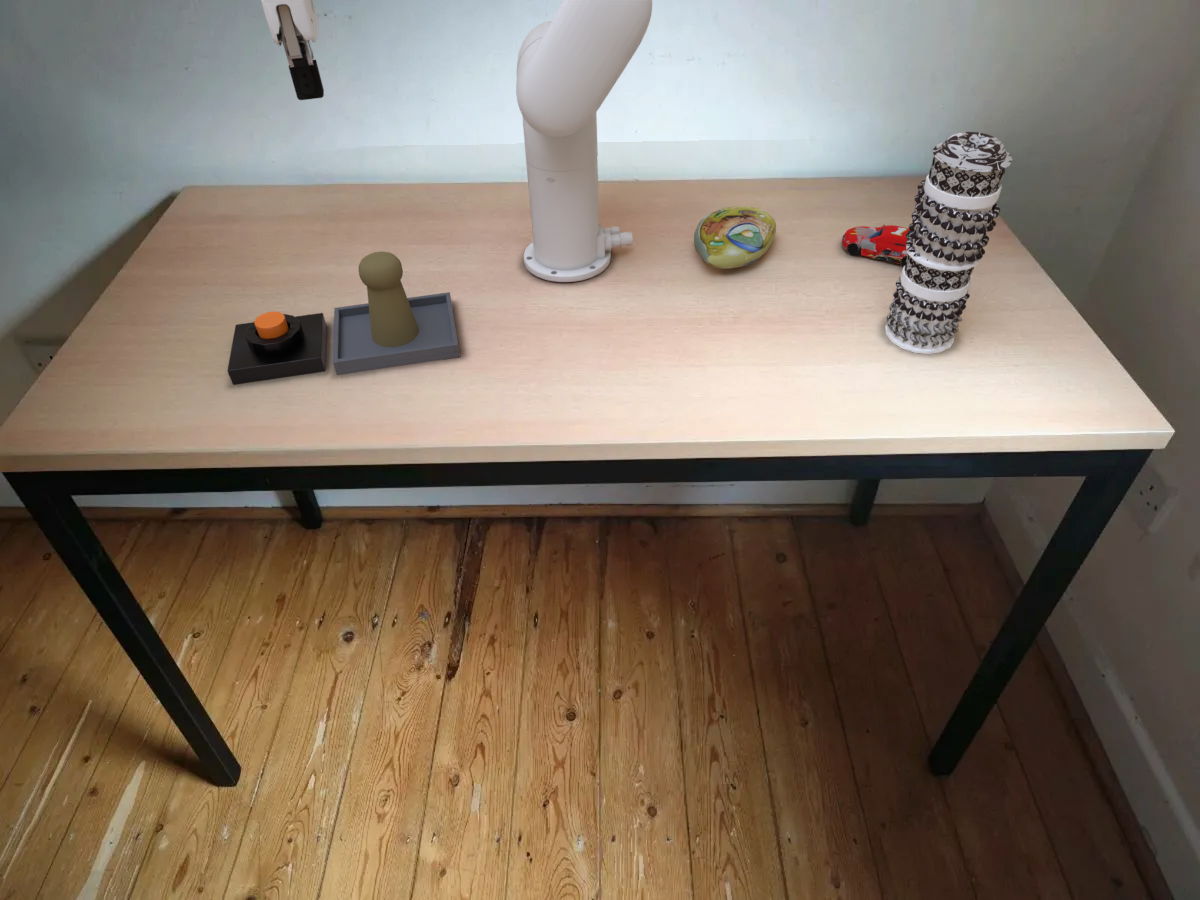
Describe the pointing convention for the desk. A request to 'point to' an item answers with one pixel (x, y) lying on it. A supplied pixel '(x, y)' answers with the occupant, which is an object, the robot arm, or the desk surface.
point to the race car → (878, 242)
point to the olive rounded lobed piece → (387, 300)
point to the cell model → (734, 236)
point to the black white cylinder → (946, 241)
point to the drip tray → (430, 345)
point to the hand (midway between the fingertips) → (311, 96)
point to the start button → (271, 325)
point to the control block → (279, 350)
